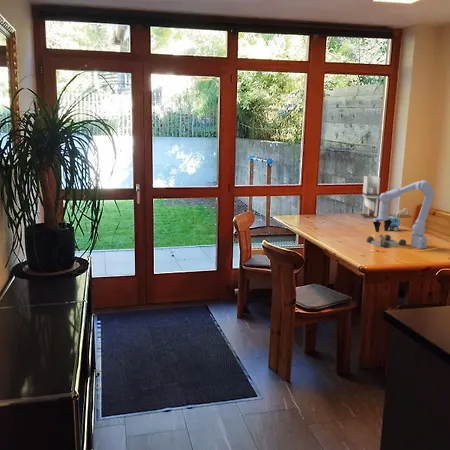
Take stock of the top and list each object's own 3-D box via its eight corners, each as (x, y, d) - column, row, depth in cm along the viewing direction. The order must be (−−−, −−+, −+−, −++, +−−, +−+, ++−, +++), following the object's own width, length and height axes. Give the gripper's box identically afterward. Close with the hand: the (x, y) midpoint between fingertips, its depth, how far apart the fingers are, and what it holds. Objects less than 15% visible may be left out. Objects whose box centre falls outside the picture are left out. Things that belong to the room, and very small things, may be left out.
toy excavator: (407, 232, 364) (409, 209, 360) (384, 230, 367) (386, 208, 363) (405, 229, 372) (407, 207, 368) (382, 228, 375) (384, 206, 371)
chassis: (406, 246, 322) (406, 239, 321) (382, 249, 314) (383, 242, 313) (388, 240, 336) (389, 234, 335) (366, 243, 327) (366, 236, 326)
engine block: (385, 244, 321) (386, 235, 320) (380, 245, 320) (380, 235, 318) (379, 242, 326) (380, 233, 325) (374, 243, 324) (375, 234, 323)
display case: (360, 216, 422) (364, 175, 415) (373, 216, 422) (376, 176, 414) (363, 218, 411) (367, 177, 403) (376, 219, 410) (380, 177, 403)
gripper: (387, 209, 325) (385, 229, 328) (370, 210, 319) (368, 231, 321) (395, 211, 319) (393, 231, 321) (378, 212, 312) (376, 233, 315)
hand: (381, 231), depth 321 cm, fingers open, 7 cm apart
